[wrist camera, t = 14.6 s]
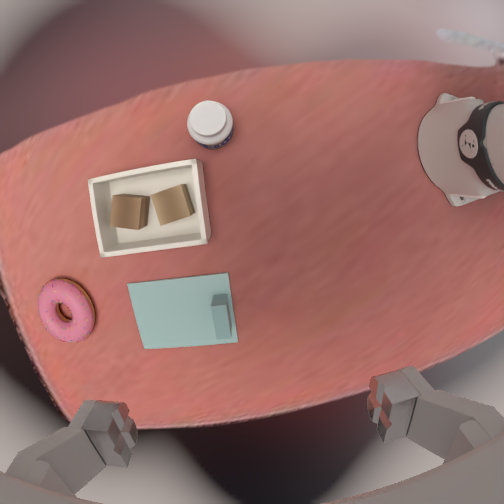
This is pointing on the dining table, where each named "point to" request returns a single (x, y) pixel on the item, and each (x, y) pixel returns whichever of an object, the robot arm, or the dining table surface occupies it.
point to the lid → (184, 311)
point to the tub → (150, 209)
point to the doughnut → (74, 300)
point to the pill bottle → (210, 124)
